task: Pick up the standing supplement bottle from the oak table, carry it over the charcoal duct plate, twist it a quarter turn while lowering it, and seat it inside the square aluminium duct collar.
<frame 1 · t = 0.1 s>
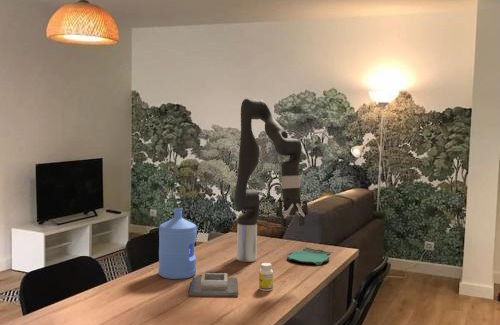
hand: (293, 226, 204), 22 cm above the table, tool pointing down, fingers open, 8 cm apart
water jug: (177, 274, 211), on the table
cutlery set: (311, 258, 243), on the table
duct: (214, 288, 193), on the table
supplement bottle: (265, 289, 194), on the table
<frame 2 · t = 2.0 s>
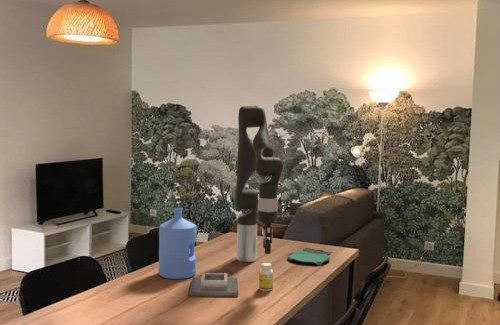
hand: (266, 250, 193), 15 cm above the table, tool pointing down, fingers open, 8 cm apart
nothing on the table moved.
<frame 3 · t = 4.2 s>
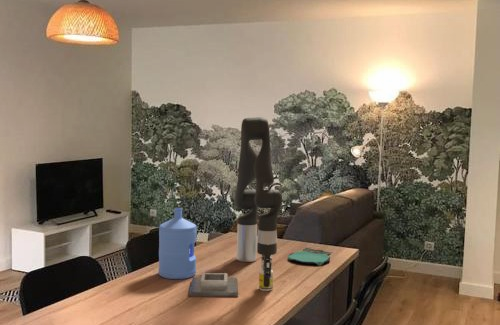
hand: (266, 283, 194), 2 cm above the table, tool pointing down, fingers closed on supplement bottle, 5 cm apart
supplement bottle: (265, 289, 194), on the table, touching gripper
everything else where it was.
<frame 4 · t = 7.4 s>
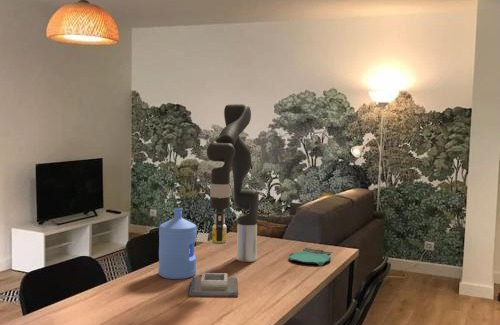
hand: (219, 238, 192), 19 cm above the table, tool pointing down, fingers closed on supplement bottle, 5 cm apart
supplement bottle: (219, 244, 192), point 17 cm above the table, touching gripper
everything else where it was.
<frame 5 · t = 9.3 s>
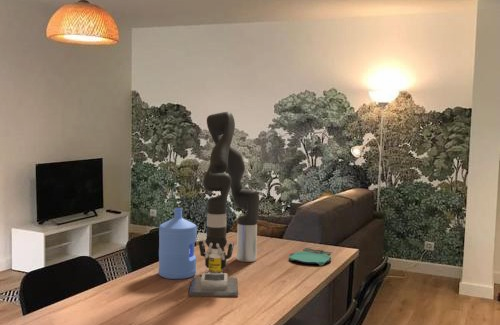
hand: (215, 267, 193), 8 cm above the table, tool pointing down, fingers closed on supplement bottle, 5 cm apart
supplement bottle: (215, 273, 193), point 6 cm above the table, touching gripper
everything else where it was.
when the fingers open (6 cm above the table, at t = 10.9 s): supplement bottle drops 2 cm, resting on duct.
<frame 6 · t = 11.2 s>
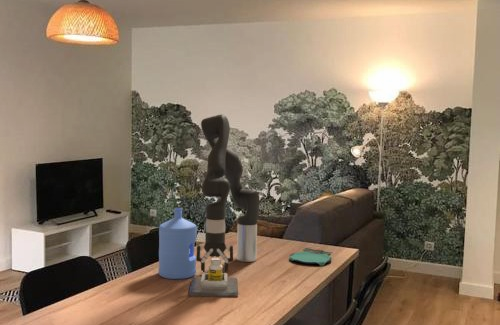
hand: (214, 271, 193), 7 cm above the table, tool pointing down, fingers open, 8 cm apart
supplement bottle: (214, 284, 194), point 1 cm above the table, touching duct
everything else where it was.
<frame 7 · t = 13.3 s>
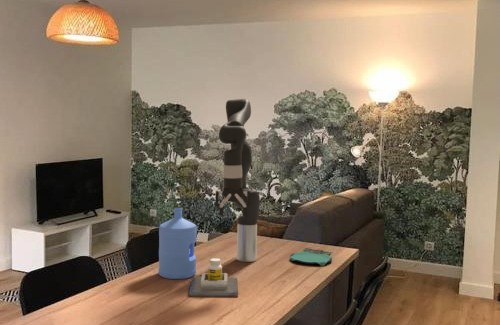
hand: (233, 216, 200), 27 cm above the table, tool pointing down, fingers open, 8 cm apart
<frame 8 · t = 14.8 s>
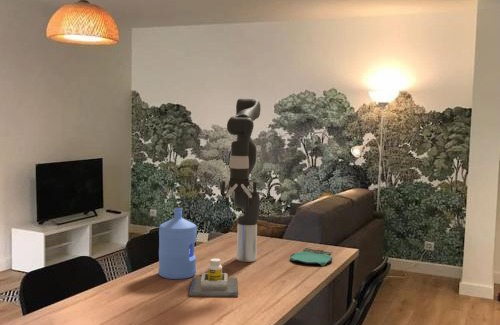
hand: (238, 206, 204), 30 cm above the table, tool pointing down, fingers open, 8 cm apart
at the end: supplement bottle 0.3 cm off-centre on the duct, point 1.3 cm above the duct's base; supplement bottle tilted 0° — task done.
